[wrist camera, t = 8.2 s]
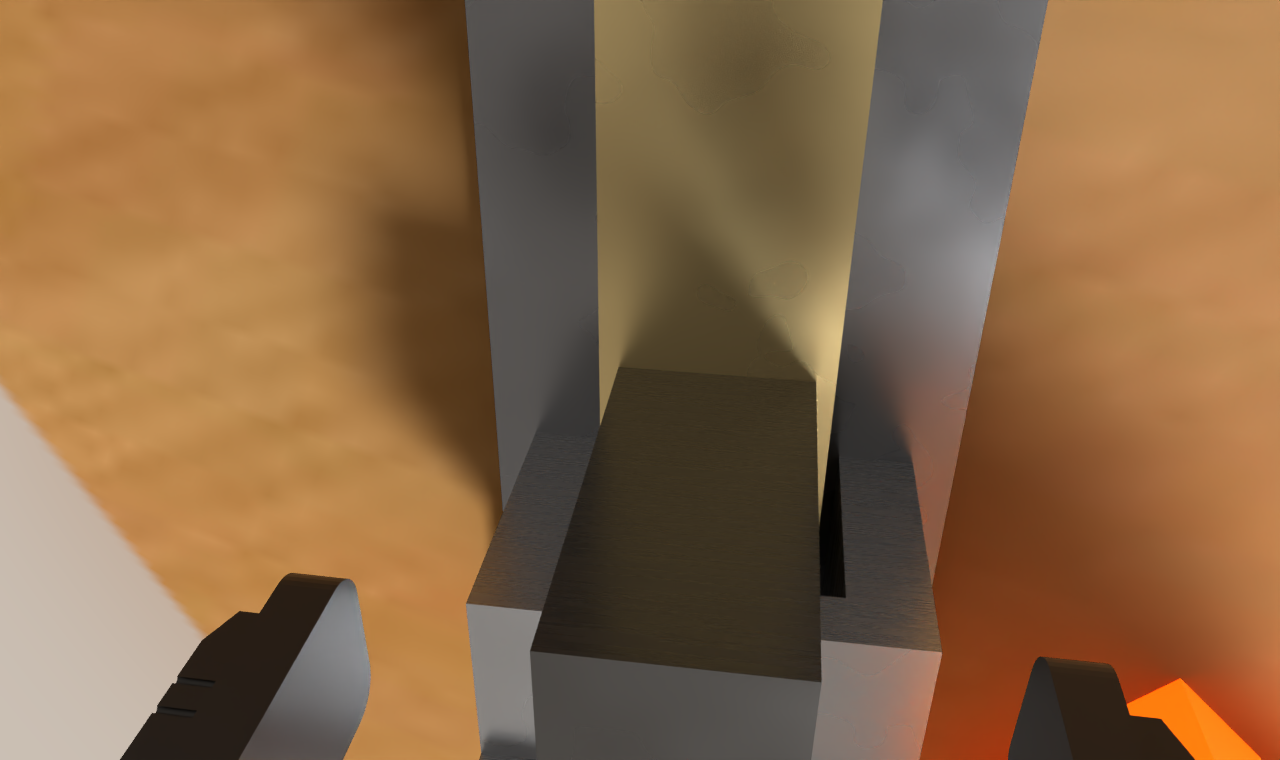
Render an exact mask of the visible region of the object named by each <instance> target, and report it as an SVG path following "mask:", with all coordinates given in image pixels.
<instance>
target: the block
mask: <svg viewBox="0 0 1280 760" xmlns="http://www.w3.org/2000/svg"><path fill="white" fill-rule="evenodd" d="M882 3H883V0H594V31H595V102H596V173H597V244H598V315H599V387H600V428H599V431H598V434H597V438H596V441H595V444H594V447H593V450H592V454H591V457H590V460H589V463H588V466H587V470H586V473H585V476H584V479H583V482H582V486H581V489H580V492H579V495H578V498H577V502H576V505H575V508H574V511H573V514H572V518H571V521H570V524H569V527H568V530H567V534H566V537H565V540H564V543H563V546H562V550H561V553H560V556H559V559H558V562H557V566H556V569H555V572H554V575H553V578H552V582H551V585H550V588H549V591H548V594H547V598H546V601H545V604H544V607H543V610H542V614H541V617H540V620H539V623H538V626H537V630H536V633H535V636H534V639H533V642H532V646H531V649H530V663H531V678H532V694H533V710H534V726H535V741H536V757H537V760H811V758H812V750H813V743H814V735H815V728H816V721H817V713H818V706H819V698H820V691H821V684H822V673H821V618H820V562H819V524H820V516H821V508H822V499H823V491H824V483H825V475H826V466H827V458H828V450H829V441H830V433H831V425H832V417H833V408H834V400H835V392H836V384H837V375H838V367H839V359H840V350H841V342H842V334H843V326H844V317H845V309H846V301H847V293H848V284H849V276H850V268H851V259H852V251H853V243H854V235H855V226H856V218H857V210H858V201H859V193H860V185H861V177H862V168H863V160H864V152H865V144H866V135H867V127H868V119H869V110H870V102H871V94H872V86H873V77H874V69H875V61H876V53H877V44H878V36H879V28H880V19H881V11H882Z"/></svg>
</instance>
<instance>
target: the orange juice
mask: <svg viewBox="0 0 1280 760" xmlns="http://www.w3.org/2000/svg"><path fill="white" fill-rule="evenodd" d="M1127 707H1128V710H1129V713H1130V715H1133V716H1142V717H1151V718H1159V719H1162V720H1163V722H1164V723H1165V724H1166V725H1167V726H1168V728H1169V729H1170V730H1171V731H1172V732H1173V734H1174V735H1175V736H1176V737H1177V738H1178V740H1179V741H1180V742H1181V743H1182V744H1183V745H1184V747H1185V748H1186V749H1187V750H1188V751H1189V753H1190V754H1191V755H1192V756H1193V757H1194V759H1195V760H1262V759H1261V758H1260V757H1259V756H1258V755H1257V754H1256V753H1255V752H1254V751H1253V750H1252V749H1251V748H1250V747H1249V746H1248V745H1247V744H1246V743H1245V742H1244V741H1243V740H1242V739H1241V738H1240V737H1239V736H1238V735H1237V734H1236V733H1235V732H1234V731H1233V730H1232V729H1231V728H1230V727H1229V726H1228V725H1227V724H1226V723H1225V722H1224V721H1223V720H1222V719H1221V718H1220V717H1219V716H1218V715H1217V714H1216V713H1215V712H1214V711H1213V710H1212V709H1211V708H1210V707H1209V706H1208V705H1207V704H1206V703H1205V702H1204V701H1203V700H1202V699H1201V698H1200V697H1199V696H1198V695H1197V694H1196V693H1195V692H1194V691H1193V690H1192V689H1191V688H1190V687H1189V686H1188V685H1187V684H1186V683H1185V682H1184V681H1183V680H1182V679H1181V678H1180V679H1178V680H1176V681H1174V682H1172V683H1170V684H1168V685H1166V686H1164V687H1162V688H1159V689H1157V690H1155V691H1153V692H1151V693H1149V694H1147V695H1145V696H1143V697H1141V698H1139V699H1137V700H1135V701H1133V702H1130V703H1128V704H1127Z"/></svg>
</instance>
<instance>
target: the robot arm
mask: <svg viewBox="0 0 1280 760" xmlns="http://www.w3.org/2000/svg"><path fill="white" fill-rule="evenodd" d="M370 676H371V674H370V663H369V657H368V651H367V646H366V640H365V634H364V629H363V623H362V617H361V612H360V606H359V600H358V595H357V590H356V587H355V584H354V583H353V581H352V580H350V579H343V578H334V577H325V576H316V575H307V574H297V573H290V574H287V575H286V576H285V577H284V578H283V579H282V580H281V581H280V582H279V584H278V585H277V587H276V588H275V590H274V591H273V593H272V595H271V596H270V598H269V599H268V601H267V602H266V604H265V605H264V607H263V609H262V610H261V612H260V613H251V612H242V611H239V612H238V613H237V614H235V615H234V616H233V617H232V618H230V619H229V620H228V621H226V622H225V623H224V624H223V625H221V626H220V627H219V628H217V629H216V630H215V631H214V632H212V633H211V634H210V635H208V636H207V637H206V638H205V639H203V640H202V641H201V643H200V644H199V646H198V647H197V648H196V650H195V651H194V653H193V654H192V656H191V657H190V659H189V660H188V662H187V663H186V664H185V666H184V667H183V669H182V670H181V672H180V673H179V675H178V676H177V677H178V679H177V682H176V684H174V683H172V685H171V686H170V688H169V689H168V691H167V692H166V694H165V695H164V696H163V698H162V699H161V701H160V702H159V704H158V705H157V711H156V713H152V714H151V715H150V717H149V718H148V720H147V721H146V723H145V724H144V726H143V727H142V729H141V730H140V732H139V733H138V734H137V736H136V737H135V739H134V740H133V742H132V743H131V745H130V746H129V747H128V749H127V750H126V752H125V753H124V755H123V756H122V758H121V759H120V760H343V758H344V756H345V754H346V752H347V750H348V748H349V745H350V743H351V741H352V739H353V737H354V735H355V733H356V730H357V728H358V726H359V724H360V722H361V719H362V717H363V714H364V711H365V708H366V704H367V700H368V695H369V689H370ZM1008 760H1195V759H1194V757H1193V756H1192V755H1191V754H1190V753H1189V751H1188V750H1187V749H1186V748H1185V747H1184V745H1183V744H1182V743H1181V742H1180V741H1179V740H1178V738H1177V737H1176V736H1175V735H1174V734H1173V732H1172V731H1171V730H1170V729H1169V728H1168V726H1167V725H1166V724H1165V723H1164V722H1163V720H1162V719H1159V718H1151V717H1142V716H1133V715H1130V713H1129V710H1128V707H1127V704H1126V701H1125V698H1124V695H1123V692H1122V689H1121V686H1120V683H1119V680H1118V677H1117V674H1116V672H1115V670H1114V669H1113V668H1112V666H1111V665H1109V664H1104V663H1095V662H1086V661H1076V660H1067V659H1058V658H1049V657H1039V658H1037V660H1036V661H1035V663H1034V666H1033V668H1032V672H1031V675H1030V679H1029V682H1028V685H1027V689H1026V692H1025V696H1024V699H1023V703H1022V706H1021V710H1020V713H1019V716H1018V720H1017V723H1016V727H1015V730H1014V734H1013V737H1012V740H1011V744H1010V749H1009V755H1008Z"/></svg>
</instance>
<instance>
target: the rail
mask: <svg viewBox="0 0 1280 760" xmlns="http://www.w3.org/2000/svg"><path fill="white" fill-rule="evenodd" d="M1047 3H1048V0H883V3H882V11H881V19H880V28H879V36H878V44H877V53H876V61H875V69H874V77H873V86H872V94H871V102H870V110H869V119H868V127H867V135H866V144H865V152H864V160H863V168H862V177H861V185H860V193H859V201H858V210H857V218H856V226H855V235H854V243H853V251H852V259H851V268H850V276H849V284H848V293H847V301H846V309H845V317H844V326H843V334H842V342H841V350H840V359H839V367H838V375H837V384H836V392H835V400H834V408H833V417H832V425H831V433H830V441H829V450H828V458H827V466H826V475H825V483H824V491H823V499H822V508H821V516H820V524H819V562H820V618H821V673H822V684H821V691H820V698H819V706H818V713H817V721H816V728H815V735H814V743H813V750H812V758H811V760H919V759H920V754H921V750H922V745H923V740H924V736H925V731H926V726H927V722H928V717H929V712H930V708H931V703H932V698H933V694H934V689H935V684H936V680H937V675H938V670H939V666H940V661H941V656H942V648H941V641H940V635H939V628H938V622H937V615H936V609H935V602H934V596H933V590H932V584H933V579H934V574H935V569H936V564H937V559H938V554H939V548H940V543H941V538H942V533H943V528H944V523H945V518H946V513H947V508H948V503H949V498H950V493H951V488H952V483H953V478H954V473H955V468H956V463H957V458H958V453H959V448H960V442H961V437H962V432H963V427H964V422H965V417H966V412H967V407H968V402H969V397H970V392H971V387H972V382H973V377H974V372H975V367H976V362H977V357H978V352H979V347H980V341H981V336H982V331H983V326H984V321H985V316H986V311H987V306H988V301H989V296H990V291H991V286H992V281H993V276H994V271H995V266H996V261H997V256H998V251H999V246H1000V240H1001V235H1002V230H1003V225H1004V220H1005V215H1006V210H1007V205H1008V200H1009V195H1010V190H1011V185H1012V180H1013V175H1014V170H1015V165H1016V160H1017V155H1018V150H1019V145H1020V140H1021V134H1022V129H1023V124H1024V119H1025V114H1026V109H1027V104H1028V99H1029V94H1030V89H1031V84H1032V79H1033V74H1034V69H1035V64H1036V59H1037V54H1038V49H1039V44H1040V39H1041V33H1042V28H1043V23H1044V18H1045V13H1046V8H1047ZM465 9H466V23H467V36H468V50H469V63H470V76H471V90H472V103H473V117H474V130H475V144H476V157H477V170H478V184H479V197H480V211H481V224H482V238H483V251H484V265H485V278H486V291H487V305H488V318H489V332H490V345H491V359H492V372H493V385H494V399H495V412H496V426H497V439H498V453H499V466H500V479H501V493H502V506H503V514H502V516H501V519H500V521H499V524H498V526H497V529H496V531H495V534H494V536H493V538H492V541H491V543H490V546H489V548H488V551H487V553H486V556H485V558H484V561H483V563H482V565H481V568H480V570H479V573H478V575H477V578H476V580H475V583H474V585H473V588H472V590H471V593H470V595H469V597H468V600H467V602H466V608H467V618H468V628H469V638H470V647H471V657H472V667H473V676H474V686H475V696H476V706H477V715H478V725H479V735H480V744H481V756H480V759H479V760H537V757H536V741H535V726H534V710H533V694H532V678H531V663H530V649H531V646H532V642H533V639H534V636H535V633H536V630H537V626H538V623H539V620H540V617H541V614H542V610H543V607H544V604H545V601H546V598H547V594H548V591H549V588H550V585H551V582H552V578H553V575H554V572H555V569H556V566H557V562H558V559H559V556H560V553H561V550H562V546H563V543H564V540H565V537H566V534H567V530H568V527H569V524H570V521H571V518H572V514H573V511H574V508H575V505H576V502H577V498H578V495H579V492H580V489H581V486H582V482H583V479H584V476H585V473H586V470H587V466H588V463H589V460H590V457H591V454H592V450H593V447H594V444H595V441H596V438H597V434H598V431H599V428H600V387H599V315H598V244H597V173H596V102H595V31H594V0H465Z"/></svg>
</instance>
